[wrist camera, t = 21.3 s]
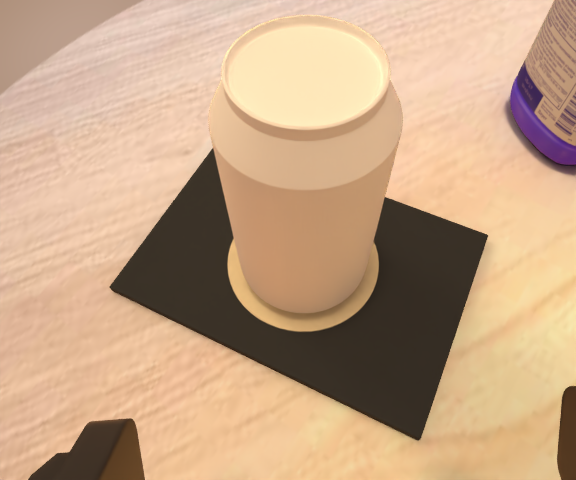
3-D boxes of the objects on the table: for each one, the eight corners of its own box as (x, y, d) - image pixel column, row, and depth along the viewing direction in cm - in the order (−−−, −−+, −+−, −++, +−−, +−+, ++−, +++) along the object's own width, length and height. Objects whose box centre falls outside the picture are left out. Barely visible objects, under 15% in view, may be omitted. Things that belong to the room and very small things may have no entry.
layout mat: (111, 290, 24) (108, 286, 24) (222, 141, 29) (221, 135, 29) (418, 440, 20) (421, 438, 20) (485, 238, 25) (489, 233, 25)
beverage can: (223, 238, 25) (169, 35, 15) (328, 195, 26) (347, -19, 16) (272, 342, 22) (248, 180, 12) (389, 288, 23) (459, 99, 13)
